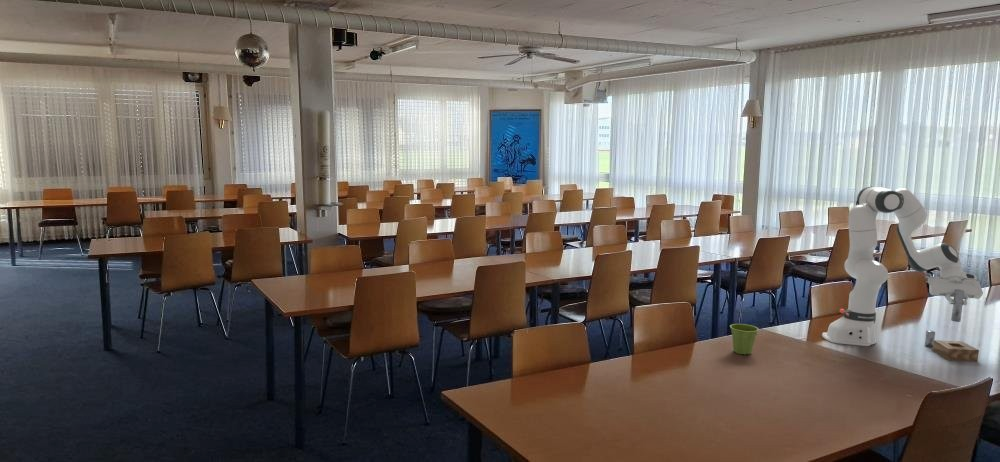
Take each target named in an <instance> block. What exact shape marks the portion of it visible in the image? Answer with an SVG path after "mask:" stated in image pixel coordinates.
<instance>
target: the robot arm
mask: <svg viewBox="0 0 1000 462" xmlns="http://www.w3.org/2000/svg"><path fill="white" fill-rule="evenodd" d="M878 213H884V214H889V213H894V214H895V216H896V218H897V219H898V220H897V221H898V224H897V225H896V232H897V233H896V234H897V236H898V238H899V241H900V243H901V245H902V248H903V250H904V252H905V255H906V257H907V262H908V264H909V266H910V268H911V269H912V270H913V271H914V272H918V273H924V272H927V271H929V270H931V269H935V268H939V276H930V277H928V278H927V284H928V285H929V286H928V287H929V288H928V290H929V294H930V295H931V296H938V297H944V298H945V299H946V300H947V301H948V303H949V305H953V304H954V303H955V302H954V293H955V289H959V290H964V299H963V306H967V305H968V299H976V300H979V299H981V297H983V295H984V291H983V288H982V286H981V283H980V282H979V281H978V280H977V279H978V276H977V275H975V274H973V273H968V272H966V271H964V270H963V269H962V263H961V262H962V261H961V258H960V256H959V253H958V251H957V250H956V248H955V247H954V246H952V245H950V244H948V243H945V242H940V243H937V244H933V245H930V246H929V247H925V248H922V249H916V247H915V243H914V242H913V239H912V237H911V236H912V235H913V234H914V233H915V232H916V231H917V230H918V229H920V228H921V227H922V226H923V225H924V223H925V222H926V220H927V216H928V215H927V211H926V209H925V208H924V205H923V204H922V203H921V201H920V200H919V199H918V198H917V197H916V195H915V194H913V193H912V191H910V190H909V189H908V188H905V187H904V188H903V187H900V188H896V189H891V188H884V187H882V186H881V187H880V186H867V187H864V188H862V189H861V190H860V191H859V193H858V195H857V197H856V201H855V205H854V206H853V207H851V209H850V210H849V215H848V235H849V250H848V255H847V256H848V257H847V259H846V260H845V261H844V267H843V268H844V270H845V272H846V273H847V274H848V275H849V276H850V277H851V278H853V279H856V280H855V284H854V287H853V289H852V290H851V291H850V292H849V296H848V297H849V298H848V308H847V309H844V308H840V309H839V312H840V313H841V314H842V315H843V316H841V317H840V318H838V319H836V320H834V321H833V322H831V323H829V326H828V328H827V332H825V331H824V332H822V334H821V337H822V338H823V339H825V340H826V341H828V342H830V343H833V344H839V345H840V344H841V345H842V344H843V345H851V346H852V345H853V346H862V347H870V346H871V345H875V344H876V343H877V341H876V335H875V323H876V320H877V312H876V307H877V306H876V305H877V299H878V294H879V292H880V290H881V287H882V285H883V284H884V283H886V281H887V280H888V278H889V271H888V269H887V267H885V266H884V265H883V263H881V262H879V261H877V260H875V259H874V251H875V249H876V248H877V246H878V235H877V233H878V232H877V230H878V229H877V222H876V220H877V215H878Z"/></svg>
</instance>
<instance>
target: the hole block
mask: <svg viewBox="0 0 1000 462" xmlns="http://www.w3.org/2000/svg"><path fill="white" fill-rule="evenodd" d="M932 352H934V353H935V354H937V355H938V356H940V357H942V358H943V359H945V360H947V361H958V362H959V361H963V362H964V361H965V362H977V361H979V352H980V350H979V349H978V348H976V347H974V346H972V345H970V344H968V343H966V342H964V341H961V340H960V341H959V340H939V339H938V340H937V339H935V340H934V343H933V347H932Z"/></svg>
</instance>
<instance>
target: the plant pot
mask: <svg viewBox="0 0 1000 462" xmlns="http://www.w3.org/2000/svg"><path fill="white" fill-rule="evenodd" d="M729 327H730V331H731V336H732V347H733V349H732V350H733V352H734V353H736V354H738V355H742V354H744V355H751V354H752V351H753V347H754V343H755V338H756V336H757V334H758V332H759V330H760V328H758V327H757V326H755V325H750V324H747V323H746V324H745V323H734V324H733V323H732V324H730V325H729Z"/></svg>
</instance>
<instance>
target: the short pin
mask: <svg viewBox="0 0 1000 462" xmlns="http://www.w3.org/2000/svg"><path fill="white" fill-rule="evenodd" d="M924 337H925V338H924V346H925V347H926V348H933V343H934V340H936V331H934V330H930V329H929V330H927V329H926V331H925V336H924Z"/></svg>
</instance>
